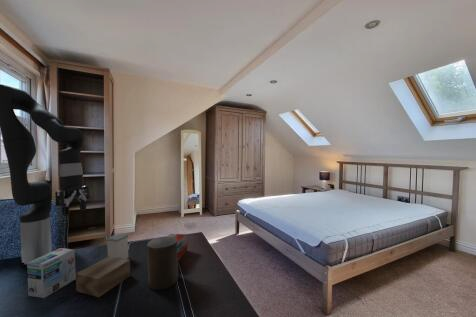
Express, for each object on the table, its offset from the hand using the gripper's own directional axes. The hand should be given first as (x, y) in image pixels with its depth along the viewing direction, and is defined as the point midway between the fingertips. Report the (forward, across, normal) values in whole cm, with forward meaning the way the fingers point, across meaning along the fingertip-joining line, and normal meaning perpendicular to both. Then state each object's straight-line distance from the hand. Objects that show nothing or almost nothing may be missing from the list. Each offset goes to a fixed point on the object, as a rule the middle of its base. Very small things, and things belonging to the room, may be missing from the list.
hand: (75, 212), depth 88 cm
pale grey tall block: (+21, 0, +17) cm, 27 cm away
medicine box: (+22, -2, +39) cm, 45 cm away
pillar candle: (+22, +14, +42) cm, 50 cm away
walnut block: (+22, +15, +22) cm, 34 cm away
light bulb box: (+21, +18, +6) cm, 28 cm away
